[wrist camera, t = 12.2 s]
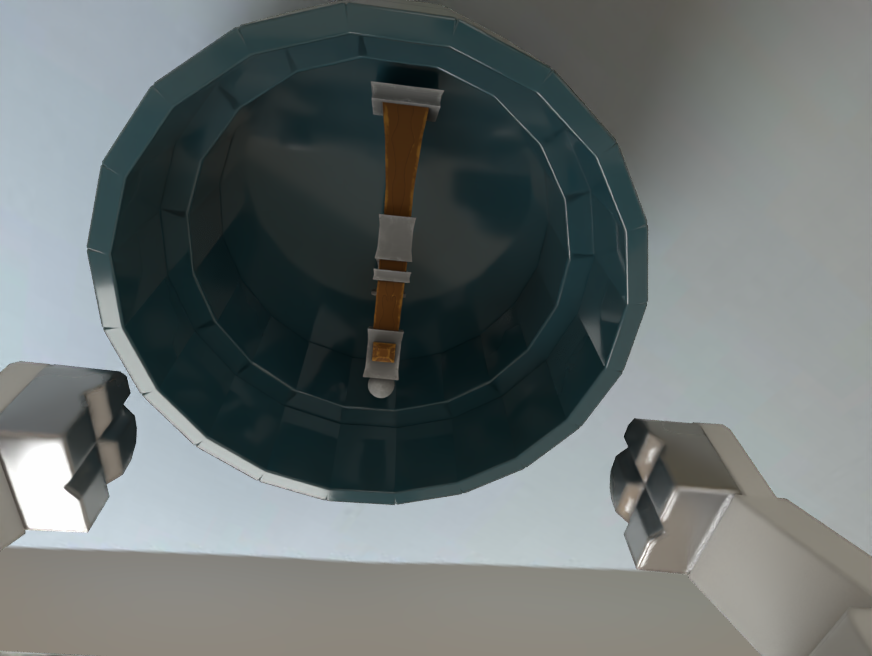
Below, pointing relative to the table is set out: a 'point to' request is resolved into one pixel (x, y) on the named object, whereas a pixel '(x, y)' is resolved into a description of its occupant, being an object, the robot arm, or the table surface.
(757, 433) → the table surface
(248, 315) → the teal round bowl
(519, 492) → the table surface
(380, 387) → the wooden post with brackets
